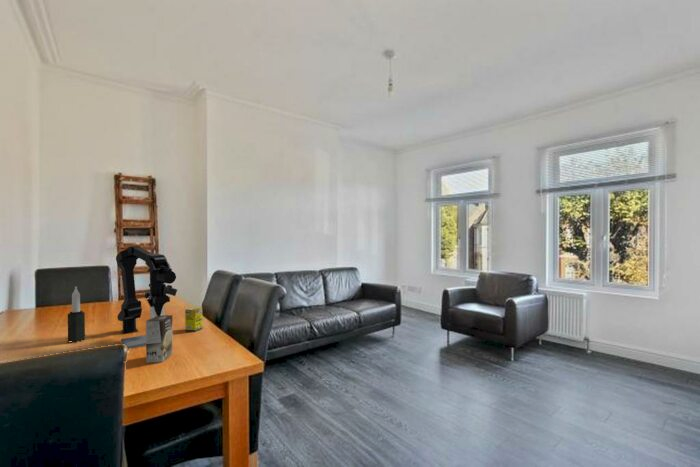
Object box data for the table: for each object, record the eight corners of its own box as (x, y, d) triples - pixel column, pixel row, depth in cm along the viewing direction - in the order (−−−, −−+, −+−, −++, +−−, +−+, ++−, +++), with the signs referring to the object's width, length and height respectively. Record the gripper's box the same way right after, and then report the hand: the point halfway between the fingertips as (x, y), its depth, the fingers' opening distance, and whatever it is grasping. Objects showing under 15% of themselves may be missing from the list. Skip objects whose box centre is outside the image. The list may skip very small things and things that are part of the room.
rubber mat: (120, 341, 160) (120, 338, 160) (155, 335, 169) (155, 332, 169) (126, 349, 149) (126, 346, 149) (162, 342, 158) (162, 339, 158)
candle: (86, 339, 163) (85, 285, 162) (74, 343, 158) (73, 287, 158) (78, 338, 164) (77, 285, 164) (66, 342, 159) (65, 287, 159)
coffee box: (163, 362, 134) (162, 320, 134) (145, 363, 134) (145, 321, 134) (173, 354, 144) (172, 314, 143) (156, 354, 143) (156, 315, 143)
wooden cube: (149, 317, 164) (149, 306, 164) (161, 315, 168) (161, 305, 168) (152, 319, 161) (152, 308, 161) (164, 317, 164) (164, 306, 164)
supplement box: (195, 331, 174) (195, 310, 174) (184, 331, 176) (184, 309, 176) (202, 328, 180) (202, 307, 180) (192, 328, 181) (192, 306, 181)
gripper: (181, 282, 163) (181, 316, 163) (169, 278, 176) (169, 309, 176) (155, 285, 155) (155, 320, 155) (144, 280, 169) (144, 312, 169)
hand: (157, 315), depth 164 cm, fingers closed on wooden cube, 5 cm apart
